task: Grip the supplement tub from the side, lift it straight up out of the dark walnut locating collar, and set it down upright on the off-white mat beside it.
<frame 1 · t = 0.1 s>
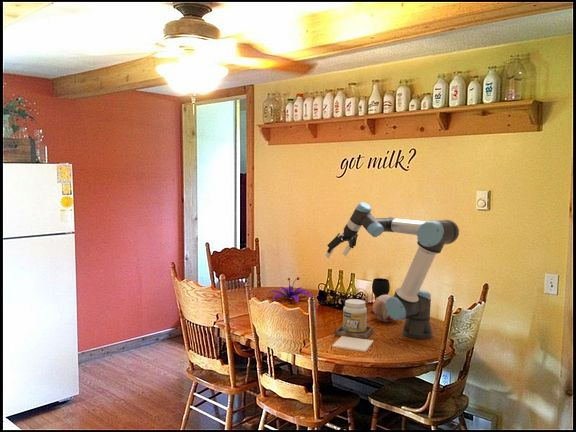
hand: (335, 255, 293), 36 cm above the table, fingers open, 13 cm apart
ornament: (385, 321, 291), on the table
decorative flower: (290, 299, 338), on the table
off-white mat: (353, 344, 249), on the table
supplement tub: (354, 334, 267), resting in walnut collar
walnut collar: (354, 333, 267), on the table
wine glass: (379, 313, 310), on the table
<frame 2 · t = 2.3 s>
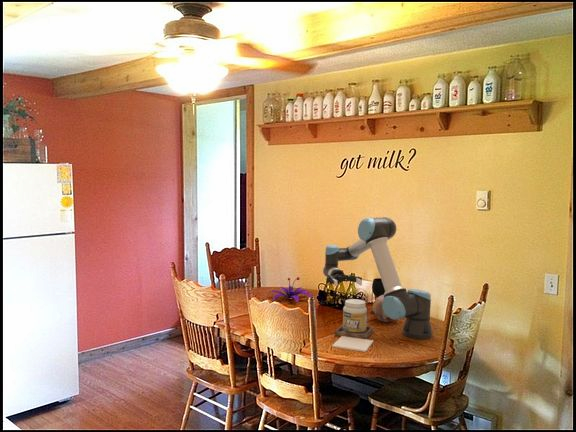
hand: (349, 283, 274), 24 cm above the table, fingers open, 13 cm apart
nothing on the table moved.
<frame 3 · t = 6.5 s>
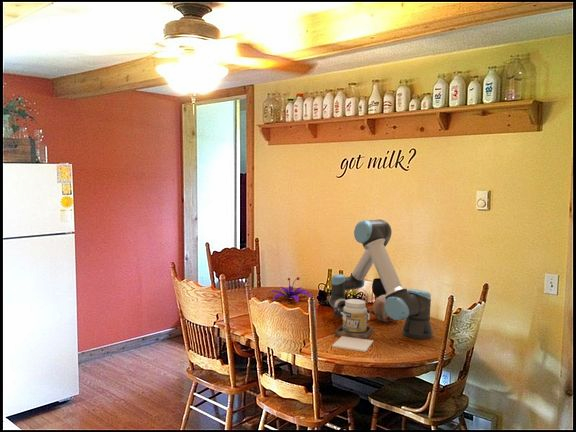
hand: (357, 317, 262), 10 cm above the table, fingers closed on supplement tub, 12 cm apart
supplement tub: (354, 334, 267), resting in walnut collar, touching gripper
everything else where it was.
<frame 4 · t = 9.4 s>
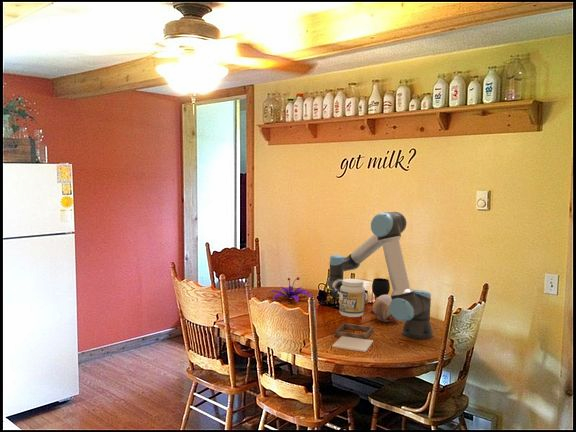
hand: (354, 297, 253), 22 cm above the table, fingers closed on supplement tub, 12 cm apart
supplement tub: (351, 314, 257), point 12 cm above the table, touching gripper
everything else where it was.
when the fingers open (12 cm above the table, at t = 12.5 s): supplement tub drops 1 cm, resting on off-white mat.
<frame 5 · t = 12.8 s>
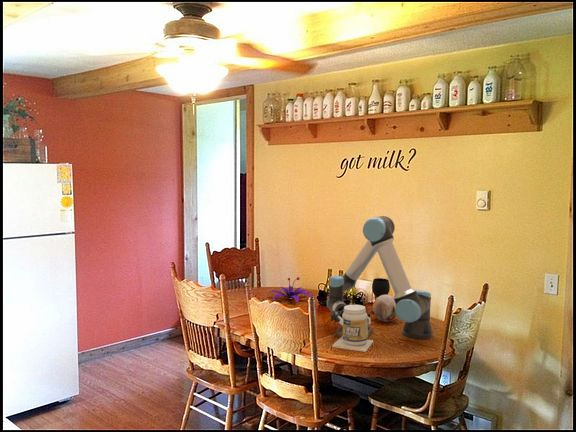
hand: (356, 321, 245), 12 cm above the table, fingers open, 13 cm apart
supplement tub: (355, 342, 250), point 1 cm above the table, touching gripper, off-white mat
everything else where it was.
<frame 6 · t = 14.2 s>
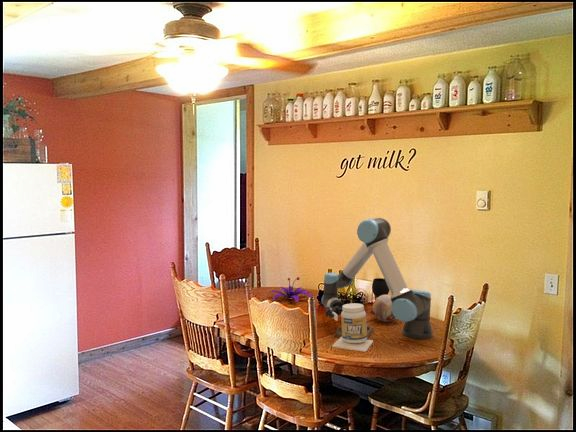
hand: (350, 317, 253), 12 cm above the table, fingers open, 13 cm apart
supplement tub: (354, 340, 252), point 1 cm above the table, touching gripper
everything else where it was.
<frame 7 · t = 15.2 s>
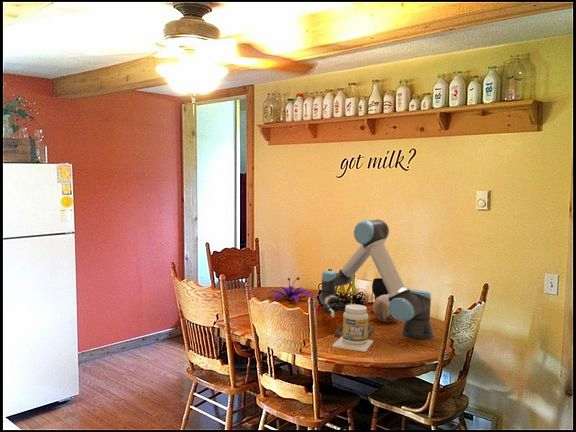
hand: (346, 313, 258), 12 cm above the table, fingers open, 13 cm apart
supplement tub: (355, 341, 252), point 1 cm above the table, touching off-white mat
everything else where it was.
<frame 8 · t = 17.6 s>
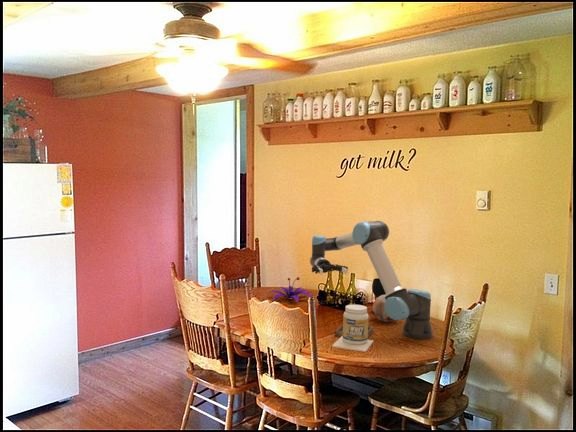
hand: (334, 272, 274), 30 cm above the table, fingers open, 13 cm apart
nothing on the table moved.
at the end: supplement tub inside the target area on the off-white mat (2.7 cm from its centre), point 0.6 cm above the off-white mat's base; supplement tub tilted 0°; the gripper is holding nothing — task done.
